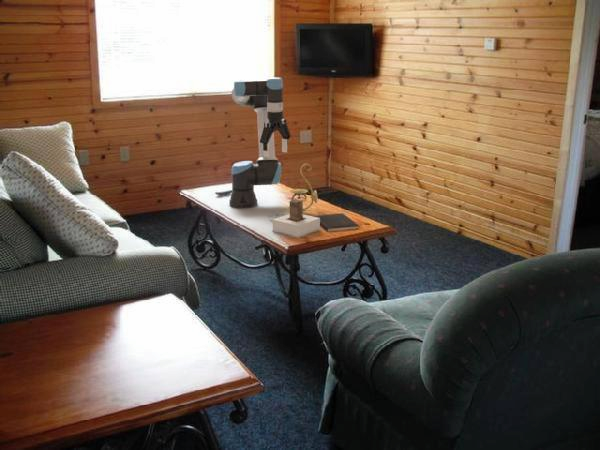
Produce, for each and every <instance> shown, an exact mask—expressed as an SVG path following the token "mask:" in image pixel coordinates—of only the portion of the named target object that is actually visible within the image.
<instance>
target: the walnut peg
mask: <svg viewBox="0 0 600 450" xmlns="http://www.w3.org/2000/svg"><path fill="white" fill-rule="evenodd" d="M302 200H303V199H298V198H297V199H296V198H294V199H293V200H289V214H290V220H291V221H295V222H299V221H302V220H303V215H304V214H303V213H304V212H303V211H304V210H303V208H304V207H303V206H304V202H303V201H302Z"/></svg>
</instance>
